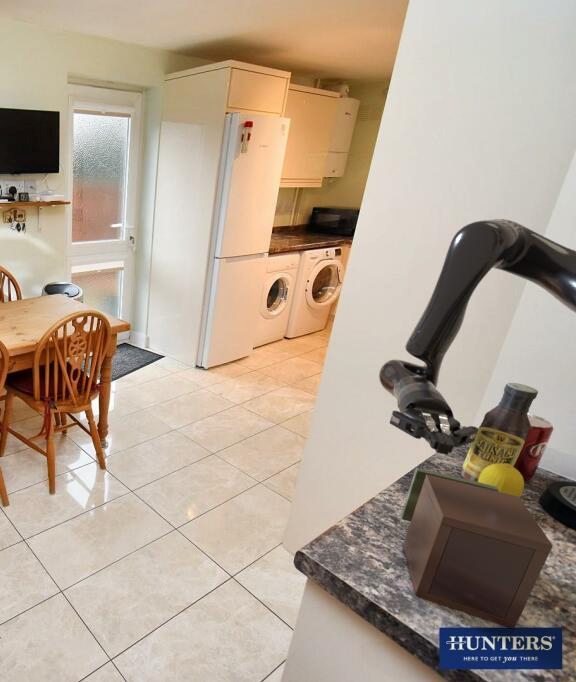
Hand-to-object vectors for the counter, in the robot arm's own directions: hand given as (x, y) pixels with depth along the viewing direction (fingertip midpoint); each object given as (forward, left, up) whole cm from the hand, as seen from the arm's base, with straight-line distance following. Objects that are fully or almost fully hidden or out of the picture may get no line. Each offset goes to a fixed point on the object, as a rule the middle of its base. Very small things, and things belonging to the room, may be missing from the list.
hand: (444, 448), depth 73 cm
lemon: (-12, +5, -12) cm, 18 cm away
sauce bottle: (-18, +2, -12) cm, 22 cm away
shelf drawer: (+9, +6, -10) cm, 15 cm away
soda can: (-26, +3, -12) cm, 29 cm away
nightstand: (+15, +10, -12) cm, 21 cm away
